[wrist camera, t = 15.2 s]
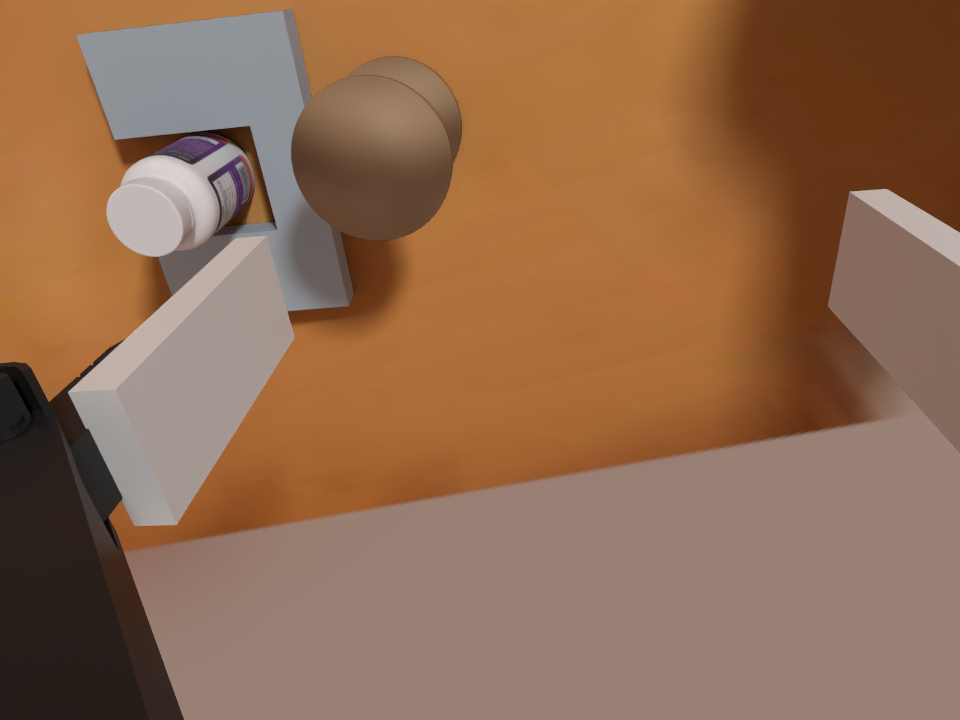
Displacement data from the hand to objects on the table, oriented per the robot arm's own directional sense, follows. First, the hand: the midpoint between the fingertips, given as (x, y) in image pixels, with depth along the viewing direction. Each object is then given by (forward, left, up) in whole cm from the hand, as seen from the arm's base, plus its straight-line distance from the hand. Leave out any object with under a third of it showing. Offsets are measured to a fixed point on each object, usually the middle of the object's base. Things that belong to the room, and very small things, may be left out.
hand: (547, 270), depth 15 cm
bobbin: (+1, -8, -28) cm, 29 cm away
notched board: (+3, -19, -28) cm, 34 cm away
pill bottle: (+3, -20, -28) cm, 35 cm away
